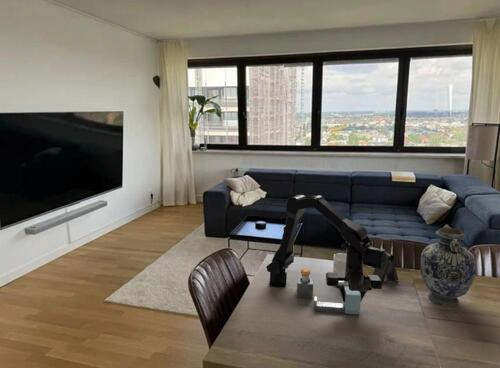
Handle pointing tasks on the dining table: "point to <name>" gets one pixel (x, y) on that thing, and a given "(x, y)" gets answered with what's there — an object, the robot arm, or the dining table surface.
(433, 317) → the dining table surface
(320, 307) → the rail
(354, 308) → the grey block
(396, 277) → the black tent sign
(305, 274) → the orange and white mushroom
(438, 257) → the decorative vase
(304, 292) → the grey hollow box
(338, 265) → the mug
